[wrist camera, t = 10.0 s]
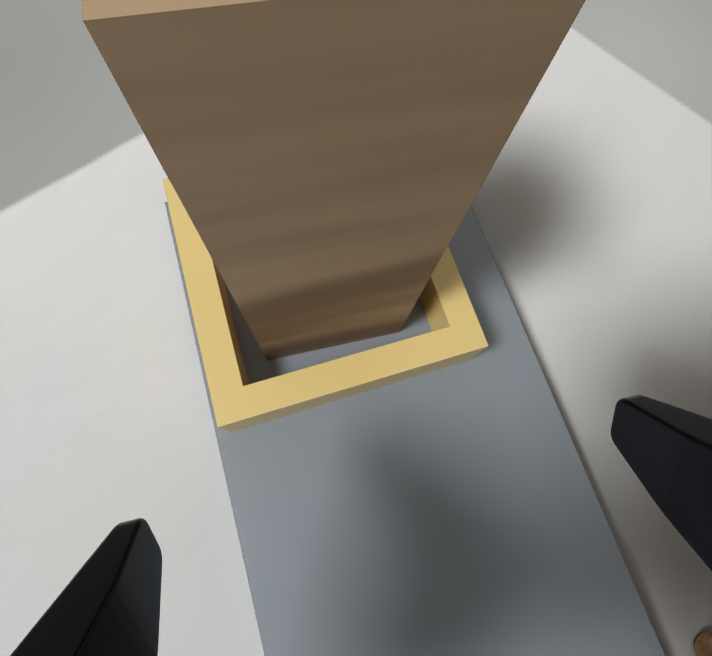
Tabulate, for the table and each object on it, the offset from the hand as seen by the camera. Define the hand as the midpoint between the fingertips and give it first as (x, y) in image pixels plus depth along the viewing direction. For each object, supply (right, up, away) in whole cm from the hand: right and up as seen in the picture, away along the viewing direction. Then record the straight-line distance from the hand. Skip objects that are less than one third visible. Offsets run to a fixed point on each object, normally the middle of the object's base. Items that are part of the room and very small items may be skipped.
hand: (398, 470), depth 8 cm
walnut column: (-2, +4, +9) cm, 10 cm away
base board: (+1, -1, +9) cm, 9 cm away
